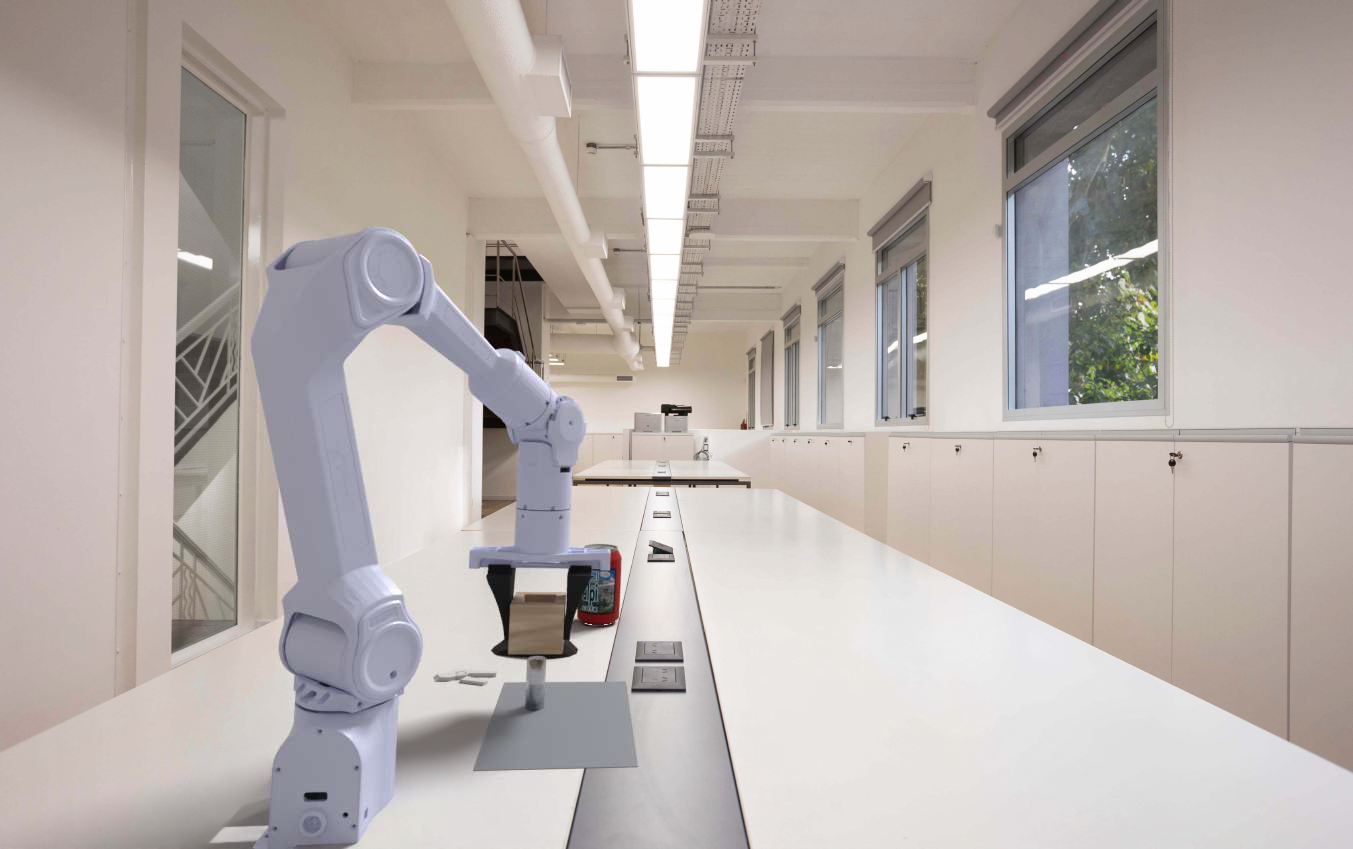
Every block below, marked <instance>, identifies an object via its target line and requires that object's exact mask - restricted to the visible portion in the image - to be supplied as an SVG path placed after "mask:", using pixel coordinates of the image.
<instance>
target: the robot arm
mask: <svg viewBox="0 0 1353 849" xmlns="http://www.w3.org/2000/svg"><path fill="white" fill-rule="evenodd" d="M265 273H266V274H265V275H266V279H267V286H268V287H267V290H266V294H265V297H264V300H263V302H262V305H261V307H260V308H261V309H260V311H259V314H258V316H257V319H256V322H255V325H254V327H253V332H252V334H251V338H250V348H251V349H250V350H251V356H252V361H253V365H254V366H253V367H254V370H255V374H256V380H257V385H258V390H259V395H260V401H261V405H262V410H263V415H264V420H265V423H266V424H265V425H266V430H267V433H268V439H269V443H270V448H271V453H272V459H273V464H274V468H275V473H276V478H277V483H278V487H279V493H280V497H281V503H282V507H283V512H284V517H285V521H286V522H285V523H286V528H287V532H288V536H289V538H288V539H289V542H290V547H291V552H292V556H293V560H294V568H295V570H296V577H297V582H296V583H295V584H294V585H293V586H292V587H291V588H290V590H288V591H287V592H286V593H285V594H284V596H283V597H282V599H281V604H282V609H283V626H282V629H281V632H280V636H279V641H278V655H279V660H280V662H281V664H282V665H283V667H284V668H285V669H286V670H287V671H288V672H289V673H290V674H293V675H294V676H293V691H294V692H295V694H294V712H293V723H292V726H291V729H290V731H289V733H288V735H287V737H286V738H285V739H284V741H283V742H282V744H281V745H280V747H279V748H278V749H277V752H276V753H275V756H274V758H273V762H272V767H271V776H270V778H271V779H270V798H269V812H268V813H269V814H268V815H269V816H268V818H269V820H268V827H267V829H266V830H265V831H264V832H263V833H262V835H261V836H260V837H259V838H258V840H257V841H256V842H255V843H254V845H253V846H252V849H296V847H297V846H308V845H309V846H312V845H313V846H314V845H334V844H335V845H337V844H338V845H339V844H341V845H342V844H358V843H359V842H360V841H361V839H362V838H363V837H364V836H365V833H366V831H367V830H368V828H369V826H370V824H372V822H373V820H374V818H375V817H376V816H377V815H378V814H379V813H380V812H381V811H383V809H385V808H386V807H387V806H388V805H389V804H390V803H391V801H392V800H393V797H394V796H395V784H396V783H395V780H396V762H397V744H398V743H397V741H398V740H397V739H398V721H399V701H400V700H399V699H400V696H403V695H404V694H405V688H406V687H407V685H408V684H409V683H410V682H411V680H412V678H413V677H414V676H415V674H416V672H417V670H418V669H419V666H420V663H421V659H422V656H423V649H424V647H423V646H424V641H423V634H422V632H421V628H420V627H419V626H418V625H419V624H418V623H417V622H415V620H414V619H413V618H412V617H411V615H410V614H409V612H408V610H407V606H406V601H405V595H404V594H403V591H402V590H401V588H399V587H398V585H397V584H396V583H395V582H394V581H393V580H392V578H391V577H390V576H389V575H388V574H387V573H386V572H385V571H384V569H383V568H382V567H381V565H380V564H379V560H378V559H379V558H378V553H377V548H376V542H375V536H374V531H373V527H372V526H373V524H372V521H371V514H370V507H369V503H368V497H367V492H366V485H365V480H364V475H363V470H362V464H361V458H360V451H359V447H358V442H357V434H356V431H355V430H356V429H355V423H354V419H353V414H352V408H351V402H350V396H349V392H348V391H349V390H348V386H347V380H346V374H345V369H344V363H345V362H346V360H347V359H348V357H349V356H350V355H351V354H352V353H353V352H354V351H355V350H356V348H357V347H358V346H360V344H361V343H362V342H363V341H364V339H365V338H366V337H367V336H368V335H369V334H370V333H371V332H372V331H374V330H376V329H378V328H381V326H383V325H389V326H397V327H404V328H406V329H408V330H409V331H410V332H411V333H413V334H414V335H416V337H418V338H419V339H420V340H422V341H423V342H425V343H426V344H427V345H428V346H429V347H431V348H433V350H435V351H436V352H437V353H439V354H440V355H442V357H444V358H445V359H447V360H448V361H449V362H451V363H452V364H453V365H454V366H456V367H457V368H458V369H460V370H461V371H462V372H463V373H465V374H466V375H467V377H468V378H467V382H468V383H467V384H468V389H469V392H470V394H471V395H472V396H473V397H474V398H476V399H477V400H478V401H479V402H481V404H482V405H483V406H485V407H487V409H488V410H490V411H491V412H493V414H494V415H496V416H497V417H498V418H499V419H501V422H502V423H504V424H505V427H506V430H507V434H508V437H509V439H510V441H511V443H512V444H513V445H517V446H518V455H517V456H518V458H517V479H516V480H517V481H516V498H515V500H516V502H515V504H516V505H515V523H514V545H509V546H508V545H507V546H502V545H501V546H486V547H485V546H479V547H478V546H473V547H472V548H471V549H469V556H468V558H469V559H468V569H469V570H473V569H474V570H475V569H476V570H479V569H480V568H487V574H486V577H485V578H486V582H487V584H488V586H489V588H490V591H491V593H492V595H493V598H494V599H495V602H496V605H497V608H498V612H499V615H500V620H501V625H502V631H503V640H509V623H510V604H511V602H512V600H513V598H514V596H515V584H516V583H515V582H516V581H515V580H516V571H517V569H566V570H567V569H568V570H567V574H566V611H565V622H564V634H563V640H570V639H571V631H572V626H573V623H574V619H575V616H576V614H577V608H578V605H579V603H580V600H581V598H582V596H583V594H584V592H585V590H586V588H587V586H588V584H589V582H590V579H591V569H599V570H607V571H609V570H610V554H611V553H610V549H590V548H584V547H575V546H570V532H571V531H570V530H571V512H572V510H571V508H572V493H573V492H572V488H573V469H574V466H575V465H576V464H577V462H578V460H579V449H580V446H581V444H582V442H583V441H584V438H585V435H586V431H587V426H588V424H587V423H586V422H585V418H584V416H585V415H584V412H583V410H582V408H581V406H580V405H579V404H578V403H577V402H576V401H575V400H574V399H573V398H571V397H570V396H567V395H558V394H557V393H556V391H554V390H553V389H552V386H551V384H550V383H549V382H548V381H547V380H543V379H542V378H541V377H540V376H539V375H538V374H537V373H536V372H535V371H534V370H533V369H532V368H531V367H530V366H529V364H527V363H526V356H524V355H523V353H522V352H520V351H519V350H512V349H510V348H497V349H495V348H494V347H493V346H492V345H491V344H490V342H489V341H488V339H486V337H484V336H483V334H482V333H481V332H480V331H479V330H478V328H476V326H475V325H474V324H473V323H472V322H471V321H470V319H468V318H467V316H465V313H464V312H463V311H461V310H460V308H459V307H458V306H457V305H456V304H455V303H454V302H453V301H452V300H451V298H450V297H449V296H448V295H447V294H446V293H445V291H444V290H442V288H441V287H440V286H439V285H438V283H437V282H436V280H435V275H434V269H433V265H432V262H431V261H430V260H428V259H427V258H426V257H424V256H423V255H422V254H420V253H418V252H417V250H416V249H415V247H414V246H413V244H412V243H411V242H410V240H408V239H407V238H406V237H405V236H404V235H403V234H401V232H399V231H396V230H394V229H392V228H390V227H384V226H371V227H368V228H363V229H362V230H360V231H357V232H352V233H347V234H343V235H338V236H333V237H328V238H322V239H317V240H315V239H310V240H303V241H299V242H297V243H295V244H292V245H291V246H290V247H288V248H287V249H286V250H285V251H283V252H282V253H281V254H280V255H279V256H278V257H277V258H276V259H275V260H273V261H272V262H271V263H270V264H269V265H267V267H266V268H265ZM570 641H571V640H570Z"/></svg>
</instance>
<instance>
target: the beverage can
mask: <svg viewBox="0 0 1353 849" xmlns="http://www.w3.org/2000/svg"><path fill="white" fill-rule="evenodd" d="M583 548H590V549H610V553H611V554H610V570H609V571H607V570H599V569H591V579H590V582H589V584H588V586H587V588H586V590H585V592H584V594H583V596H582V598H581V600H580V603H579V605H578V608H577V610H576V618H577V619H578V620H579V621H581V622H582V623H583V622H584V623H587V624H592V625H604V624H610V623H612V624H614V622H616V621H617V620H618V619H619V618H620V606H621V586H622V583H621V582H622V562H623V561H622V555H621V553H620V550H619V547H618V546H617V545H613V544H609V543H592V544H590V543H589V544H586V545H584V547H583ZM584 623H583V624H584ZM610 625H611V624H610Z"/></svg>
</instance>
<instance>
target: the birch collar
mask: <svg viewBox="0 0 1353 849" xmlns="http://www.w3.org/2000/svg"><path fill="white" fill-rule="evenodd" d="M566 598H567V591H566V592H565V591H564V592H563V591H561V592H560V591H554V592H551V591H549V592H548V591H544V592H543V591H538V592H537V591H516V592H515V593H514V598H513V600H512V602H511V604H510V623H509V645H508V654H562V652H563V644H564V640H563V634H564V622H565V614H566Z"/></svg>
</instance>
